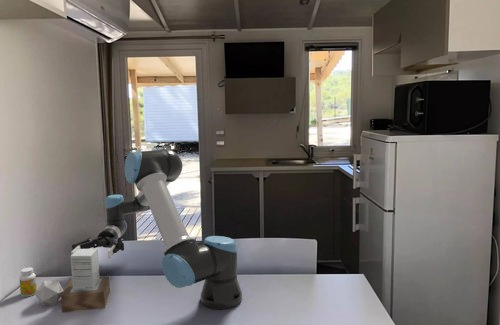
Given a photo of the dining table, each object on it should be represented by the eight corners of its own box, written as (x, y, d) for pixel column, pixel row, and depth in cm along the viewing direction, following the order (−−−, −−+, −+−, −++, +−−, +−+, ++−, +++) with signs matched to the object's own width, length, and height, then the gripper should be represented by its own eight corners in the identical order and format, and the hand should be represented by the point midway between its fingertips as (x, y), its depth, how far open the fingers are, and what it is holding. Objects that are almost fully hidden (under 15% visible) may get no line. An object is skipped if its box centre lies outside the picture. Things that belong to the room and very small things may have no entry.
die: (45, 312, 135) (62, 287, 137) (25, 299, 136) (42, 274, 138) (56, 309, 143) (72, 286, 145) (37, 296, 144) (53, 273, 146)
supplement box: (80, 281, 144) (77, 248, 143) (100, 280, 145) (98, 248, 143) (72, 290, 137) (69, 256, 135) (93, 289, 137) (91, 255, 136)
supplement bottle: (17, 296, 146) (15, 271, 144) (28, 289, 151) (26, 266, 150) (29, 297, 144) (27, 273, 143) (40, 291, 150) (38, 267, 148)
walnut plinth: (110, 291, 149) (109, 276, 148) (104, 308, 137) (103, 291, 136) (71, 294, 146) (70, 279, 146) (62, 312, 134) (60, 295, 133)
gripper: (138, 244, 168) (124, 263, 147) (80, 245, 167) (57, 265, 146) (138, 227, 167) (123, 244, 146) (79, 228, 166) (56, 245, 145)
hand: (90, 254), depth 146 cm, fingers open, 13 cm apart
